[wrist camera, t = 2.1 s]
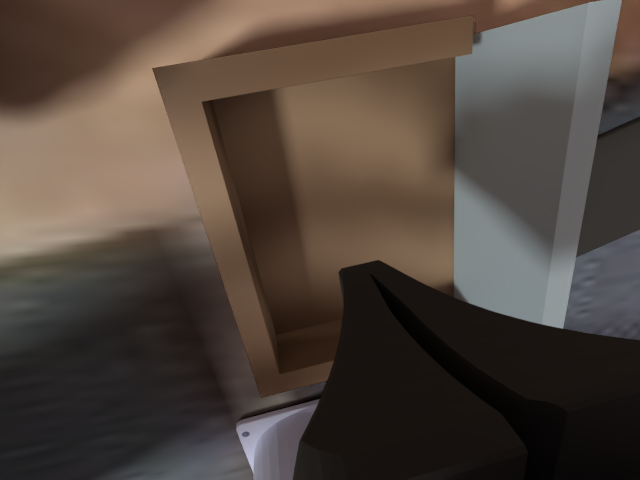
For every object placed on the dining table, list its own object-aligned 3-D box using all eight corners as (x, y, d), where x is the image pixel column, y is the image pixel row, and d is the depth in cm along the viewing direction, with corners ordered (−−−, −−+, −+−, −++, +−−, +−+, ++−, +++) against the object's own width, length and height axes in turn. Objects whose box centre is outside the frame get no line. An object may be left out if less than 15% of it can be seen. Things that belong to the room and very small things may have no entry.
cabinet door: (453, 302, 21) (532, 385, 15) (455, 39, 15) (588, 2, 9) (468, 298, 21) (553, 379, 15) (476, 35, 15) (622, -4, 9)
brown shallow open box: (458, 295, 22) (499, 335, 18) (260, 344, 21) (261, 397, 17) (463, 26, 16) (525, 6, 12) (178, 74, 14) (152, 68, 11)
